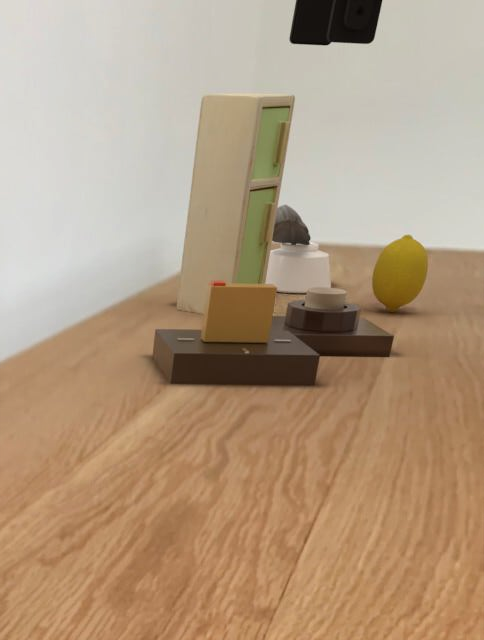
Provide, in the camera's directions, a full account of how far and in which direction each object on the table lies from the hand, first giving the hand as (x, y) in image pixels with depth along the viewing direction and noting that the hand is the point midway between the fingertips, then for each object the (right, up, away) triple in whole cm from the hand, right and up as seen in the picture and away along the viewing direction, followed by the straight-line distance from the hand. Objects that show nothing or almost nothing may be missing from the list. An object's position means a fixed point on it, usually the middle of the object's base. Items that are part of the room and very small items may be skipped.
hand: (328, 43), depth 81 cm
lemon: (+22, -4, +43) cm, 48 cm away
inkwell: (+14, +3, +53) cm, 55 cm away
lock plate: (-3, -20, +15) cm, 25 cm away
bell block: (+8, -14, +26) cm, 30 cm away
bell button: (+8, -10, +24) cm, 27 cm away
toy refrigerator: (+3, -3, +43) cm, 43 cm away
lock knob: (-3, -17, +14) cm, 22 cm away
